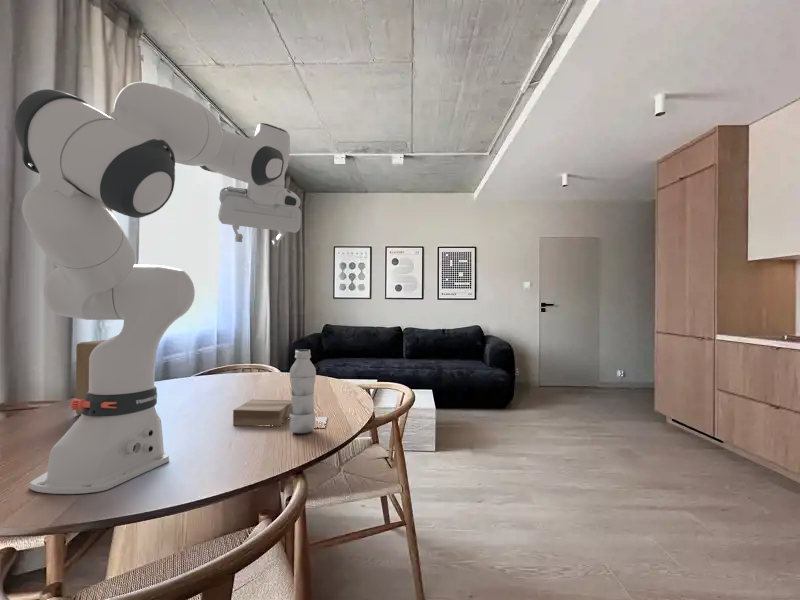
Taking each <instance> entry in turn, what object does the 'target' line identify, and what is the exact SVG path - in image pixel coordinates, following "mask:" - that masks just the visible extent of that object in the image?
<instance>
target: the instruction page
mask: <svg viewBox="0 0 800 600" xmlns="http://www.w3.org/2000/svg"><path fill="white" fill-rule="evenodd" d="M317 417H318V419H317ZM315 419H316V421H318V423H319V422H320V421H321V422H323V424H324V423H325V424H326V425H327V422H326V421H327V420H328V417H327V416H315ZM321 422H320V423H321ZM320 425H321V424H320ZM326 425H325V426H326ZM323 426H324V425H323ZM323 426H322V427H323ZM325 426H324V427H325ZM325 428H326V427H325Z"/></svg>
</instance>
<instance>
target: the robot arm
mask: <svg viewBox="0 0 800 600" xmlns="http://www.w3.org/2000/svg"><path fill="white" fill-rule="evenodd" d="M14 130H15V134H16V139H17V141H18V143H19V144H20V148H21V150H22V151H21V152H22V157H21V159H22V163H23V164H24V166H25V167H26V168H28V169H29V170H31V171H32V172H34V173H36V174H39V178H40V179H39V181H38V182H37V184H36V185H35V186H33V187H32V188H31V189H30V190H29V191H28V192H27V193H26V194H25V196H24V198H23V200H22V204H21V212H22V217H23V219H24V222H25V224H26V226H27V228H28V230H29V231H30V233H31V236H32V238H33V239H34V240H35V242H36V244H37V245H38V246H39V247H40V249H41V250H42V251H43V253H44V254H45V255H46V256H47V258H49V259H50V260H51V261H52V263H53V264H54V265H55V266H56V267H55V269H53V270H52V271H51V273H50V274H49V275H48V277H47V278H46V279H45V284H44V287H43V295H44V296H43V297H44V299H45V301H46V304H47V306H48V307H49V309H50V310H51V311H53V313H54V314H56V315H57V316H61V317H67V318H74V319H79V320H85V321H87V320H89V321H90V320H91V321H94V320H99V321H100V320H101V321H102V320H103V321H104V320H105V321H107V320H108V321H109V320H111V321H112V320H116V321H117V320H118V321H119V320H121V321H123V325H122V329H121V331H120V332H119V334H117V335H115V336H113V337H112V336H111V338H108V339H105V340H106V341H104V342H102V343H100V344H99V345H97V346H96V347H95V348H94V349H93V351H92V352H91V354H90V357H89V391H88V392H87V393H86V396H85V399H82V400H79V399H76V398H73V399H72V400H71V402H69V409H70V410H71V411H76V410H81V413H82V415H79V417H78V419H76V421H75V422H74V423H73V424H72V426H70V427H69V429H68V430H67V431H66V433H64V434H63V436H62V437H60V439H59V440H58V441H57V442H56V443H55V445H53V447H52V448H51V450H50V452H49V457H48V463H47V471H46V472H44V473H43V474H41V475H39V476H38V477H36V478H34V479H33V480H31V481H30V482H29V486H28V488H29V489H30V490H31V491H33V492H37V493H44V494H45V493H46V494H55V495H57V494H58V495H76V494H80V495H81V494H90V493H98V492H104V491H107V490H110V489H112V488H115V487H116V486H119V485H121V484H123V483H124V482H127V481H129V480H132V479H133V478H135V477H138V476H141V475H143V474H145V473H147V472H148V471H152V470H153V469H155V468H157V467H160V466H161V465H164V464H166V463H168V462H170V457H169V454H167V453H165V450H164V449H165V448H164V436H163V426H162V420H161V417H160V416H159V414H158V413H157V410H156V407H155V406H156V405H157V404H158V402H157V401H158V400H157V399H158V391H157V390H158V389H157V387H156V386H155V375H156V374H155V370H156V362H157V361H156V359H157V358H156V357H157V352H158V347H159V344H160V342H161V340H162V337H164V334H165V332H166V331H167V330H168V329H169V327H171V325H172V324H173V323H174V322H175V321H177V320H178V319H179V318H181V317H183V316H184V315H185V314H186V313H188V311H189V310H190V309H191V307H192V305H193V304H194V300H195V292H196V290H195V286H194V283H193V280H192V279H191V277H190V275H189V274H188V273H187V272H185V270H183V269H179V268H175V267H171V266H167V265H160V264H135V263H136V252H135V249H134V247H133V246H132V244H131V242H130V240H129V238H128V237H127V236H126V233H125V232H124V230H123V228H122V226H121V224H120V223H119V222H118V220H117V218H116V217H115V215H114V214H113V211H115V212H117V213H119V214H122V215H124V216H128V217H130V218H135V219H137V218H138V219H141V218H143V217H147V216H149V215H152V214H154V213H156V212H158V211H159V210H160V209H162V208H163V207H164V206H165V205H166V204H167V203H168V201H169V200H170V198H171V197H172V194H173V192H174V188H175V182H176V169H175V167H176V164H180V165H184V166H191V167H192V166H193V167H200V168H201V169H202V170H204V171H207V172H211V173H215V174H219V175H222V176H225V177H229V178H231V179H235V180H237V181H240V182H244V183H246V188H242V187H241V188H240V187H233V186H229V185H228V186H227V187H224V188H222V189H220V192H219V197H218V198H219V199H218V200H219V201H220V205H219V209H218V220H219V222H220V223H221V224H223V225H229V226H230V225H231V227H232V229H233V231H234V234H235V238H234V240H235V242H236V243H242V242H243V238H244V237H243V234H242V233H239V232H238V230H240V227H245V228H254V229H262V230H270V231H278V235H277V236H276V237H272V240H271V245H272V246H273V247H279V246H280V241H281V240H282V239H283V238H284V237H285V236H286V232H288V233H295V234H296V233H297V232H299V230H301V226H302V225H301V223H302V210H301V209H300V208H299V207H300V205H301V198H300V197H299V196H298V194H296V193H295V192H293V191H291V190H289V189H288V188H285V185H286V181H285V174H286V171H287V170H288V167H289V158H290V151H291V150H290V149H291V139H290V134H289V133H288V131H287V130H285V129H283V128H280V127H277V126H275V125H272V124H269V123H264V122H261V123H258V125H257V127H256V130H255V134H254V135H253V136H251V137H246V136H242V135H239V134H236V133H234V132H230V131H227V130H225V129H222V125H221V123H220V121H219V119H218V118H217V117H216V115H215V114H213V112H212V111H210V109H208V108H207V107H206V106H205V105H203V104H201V103H199V101H196V100H195V99H193V98H191V97H189V96H188V95H186V94H184V93H182V92H179V91H177V90H174V89H173V88H172V89H171V88H169V87H166V86H164V85H160V84H157V83H153V82H148V81H137V82H132V83H129V84H127V85H126V86H125V87H123V88H122V89H121V90H120V91H119V93H118V95H117V96H116V98H115V100H114V106H113V111H112V112H110V113H109V115H107V114H105V113H104V112H102V111H101V110H99V109H96V108H95V107H93V106H91V105H90V104H88V103H87V102H86V101H85V100H83V99H82V98H80V97H78V96H75V95H72V94H71V93H68V92H64V91H61V90H56V89H40V90H37V91H35V92H32V93H30V94H29V95H27V96H26V97H25V98H24V99H23V100H22V101H21V103H20V104H19V106H18V108H17V109H16V112H15V116H14Z"/></svg>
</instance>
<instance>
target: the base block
mask: <svg viewBox="0 0 800 600" xmlns="http://www.w3.org/2000/svg"><path fill="white" fill-rule="evenodd" d="M290 410H291V400H290V399H287V400H285V399H284V400H283V399H251V400H249V401H246V402H245V403H243V404H242V405H239V406H238V407H236V408H235V409H232V411H233V412H232V413H233V414H232V426H233V425H270V426H272V425H273V426H280V425H281V424H282V423H283V422H285V421H286V420H287V419H288V418H289V416H290ZM288 420H289V419H288ZM288 420H287V421H288ZM287 421H286V422H287ZM286 422H285V423H286ZM283 424H284V423H283ZM283 424H282V425H283ZM282 425H281V426H282ZM281 426H280V427H281Z"/></svg>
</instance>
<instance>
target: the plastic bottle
mask: <svg viewBox="0 0 800 600" xmlns="http://www.w3.org/2000/svg"><path fill="white" fill-rule="evenodd" d="M294 353H295V355H294V358H295V361H294V362H293V364H292V365H291V367H290V370H289V383H290V390H291V392H290V394H291V396H290V397H291V410H290V416H289V419H288V429H289V431H290V432H291V433H293V434H307V433H311V432H312V431H314V430H315V429H314V427H315V423H316V419H315V417H316V414H315V406H314V397H315V396H314V394H315V383H316V376H317V371H316V370H317V369H316V367H315V366H314V363H312V361H311V358H312V355H311V349H305V348H304V349H295V351H294Z"/></svg>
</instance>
